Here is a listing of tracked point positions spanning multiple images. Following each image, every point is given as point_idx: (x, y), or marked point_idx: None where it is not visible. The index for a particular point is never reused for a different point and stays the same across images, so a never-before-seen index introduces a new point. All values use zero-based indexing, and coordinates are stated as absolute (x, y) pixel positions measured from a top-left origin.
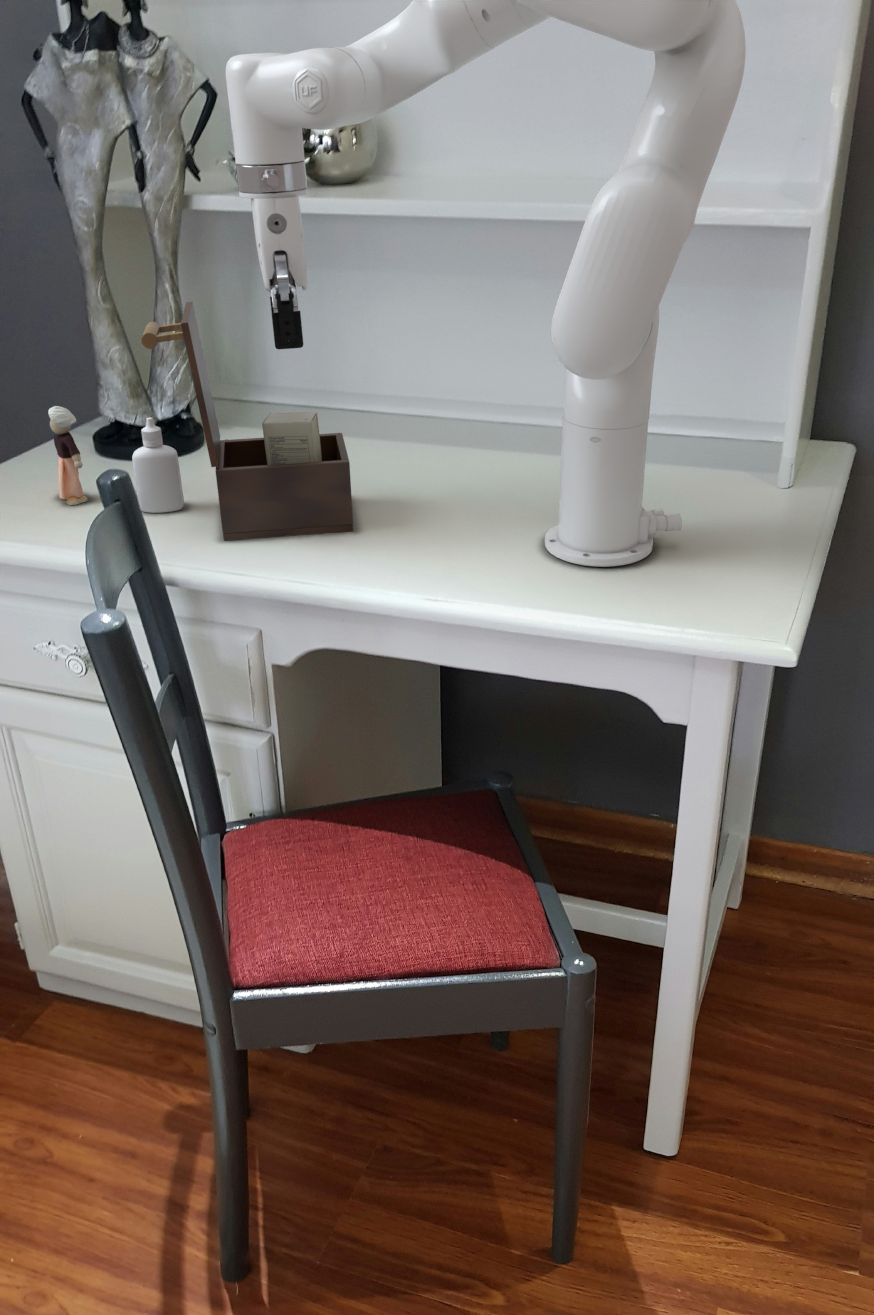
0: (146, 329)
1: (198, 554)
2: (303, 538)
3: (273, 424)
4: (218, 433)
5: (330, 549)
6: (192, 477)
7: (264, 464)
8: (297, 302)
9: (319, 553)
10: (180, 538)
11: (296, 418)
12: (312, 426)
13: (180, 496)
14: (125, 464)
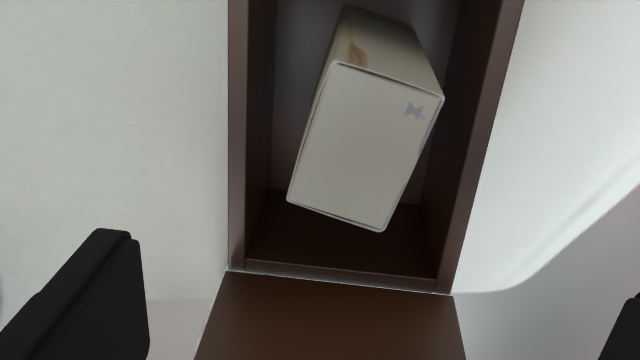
0: None
1: (471, 251)
2: None
3: (397, 203)
4: (258, 287)
5: (558, 28)
6: (89, 230)
7: (258, 151)
8: (22, 357)
9: (567, 53)
10: None
11: (390, 138)
12: (436, 88)
13: (255, 273)
14: None
